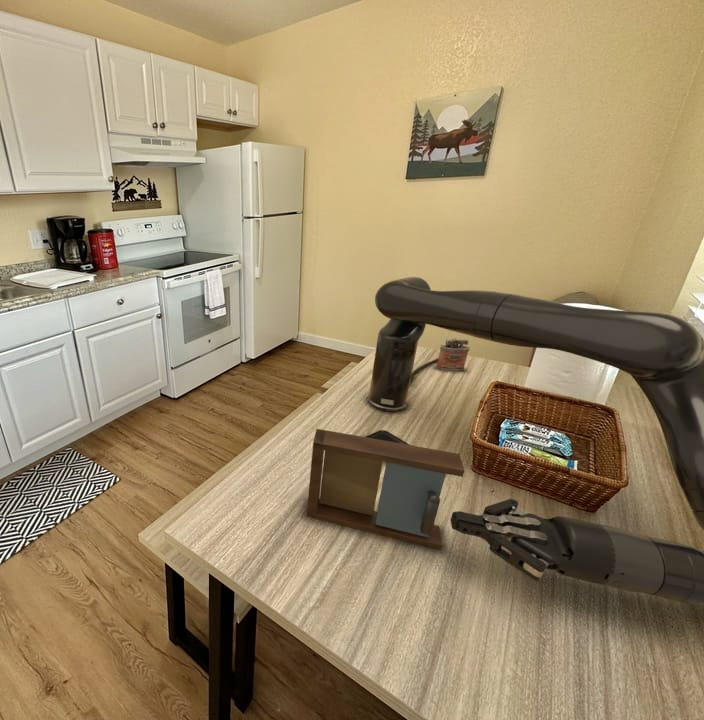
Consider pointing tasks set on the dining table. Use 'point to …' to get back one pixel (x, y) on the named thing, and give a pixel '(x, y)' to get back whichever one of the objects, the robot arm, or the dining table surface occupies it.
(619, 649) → the dining table surface
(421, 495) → the closet door
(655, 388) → the robot arm
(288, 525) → the dining table surface
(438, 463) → the frame
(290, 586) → the dining table surface
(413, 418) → the dining table surface
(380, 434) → the phone
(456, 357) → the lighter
